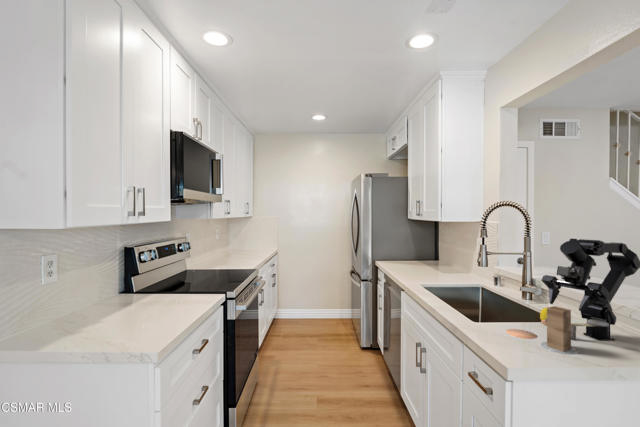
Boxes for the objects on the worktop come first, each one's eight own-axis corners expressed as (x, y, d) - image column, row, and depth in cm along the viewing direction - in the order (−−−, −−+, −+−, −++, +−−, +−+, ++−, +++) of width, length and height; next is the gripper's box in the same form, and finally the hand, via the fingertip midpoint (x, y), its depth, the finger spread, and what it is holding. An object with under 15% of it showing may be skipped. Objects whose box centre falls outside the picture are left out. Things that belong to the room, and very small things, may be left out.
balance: (607, 346, 109) (607, 321, 110) (610, 352, 105) (610, 326, 105) (541, 334, 121) (541, 311, 121) (540, 339, 116) (540, 315, 116)
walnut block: (554, 344, 108) (554, 306, 109) (571, 349, 104) (570, 309, 104) (547, 346, 106) (546, 307, 106) (563, 351, 102) (563, 311, 102)
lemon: (559, 329, 126) (559, 309, 127) (544, 328, 128) (543, 308, 128) (552, 324, 132) (552, 305, 132) (537, 323, 133) (537, 304, 133)
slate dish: (561, 345, 110) (561, 341, 110) (586, 357, 100) (586, 354, 100) (533, 345, 110) (533, 342, 110) (556, 358, 100) (556, 354, 100)
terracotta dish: (525, 332, 123) (525, 328, 123) (544, 342, 113) (544, 338, 113) (500, 332, 123) (500, 329, 123) (516, 342, 113) (516, 338, 113)
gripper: (541, 254, 120) (525, 289, 116) (601, 260, 103) (584, 301, 99) (556, 270, 124) (541, 304, 120) (616, 278, 106) (601, 319, 103)
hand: (564, 306), depth 110 cm, fingers open, 9 cm apart
